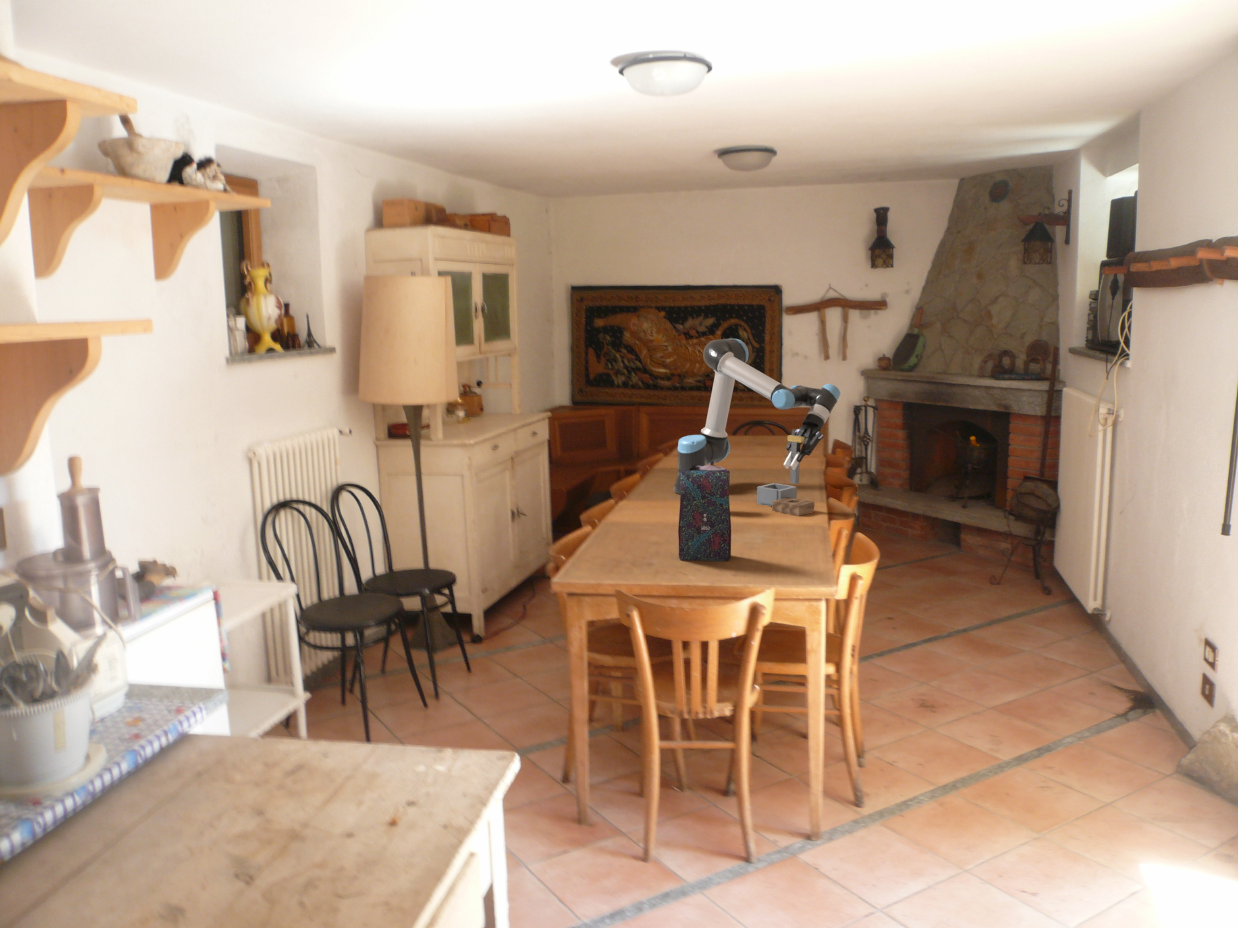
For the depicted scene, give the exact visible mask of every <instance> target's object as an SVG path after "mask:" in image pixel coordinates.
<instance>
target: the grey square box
mask: <svg viewBox="0 0 1238 928" xmlns="http://www.w3.org/2000/svg"><path fill="white" fill-rule="evenodd" d="M797 489H798V487H797V486H794V485H789V484H784V483H783V484H782V483H776V482H775V483H774V482H772V483H769V484H764V485H759V486H756V502H757V505H758V504H760V506H764V505H768V506H767V507H769V506H773V501H775V500H779V499H783V498H787V497H790V498H796V499H798V497H797V496H798V495H797V494H798V492H797Z"/></svg>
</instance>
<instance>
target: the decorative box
mask: <svg viewBox="0 0 1238 928" xmlns="http://www.w3.org/2000/svg"><path fill="white" fill-rule="evenodd" d="M679 501H680V502H679V514H678V529H677V530H678V531H677V533H678V534H677V535H678V558H679V560H680V561H694V562H696V561H697V562H699V561H700V562H706V561H707V562H708V561H709V562H729V561H730V559H731V557H732V521H731V519H732V517H731V508H730V470H729V469H727V470H681V472H680V494H679Z"/></svg>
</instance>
